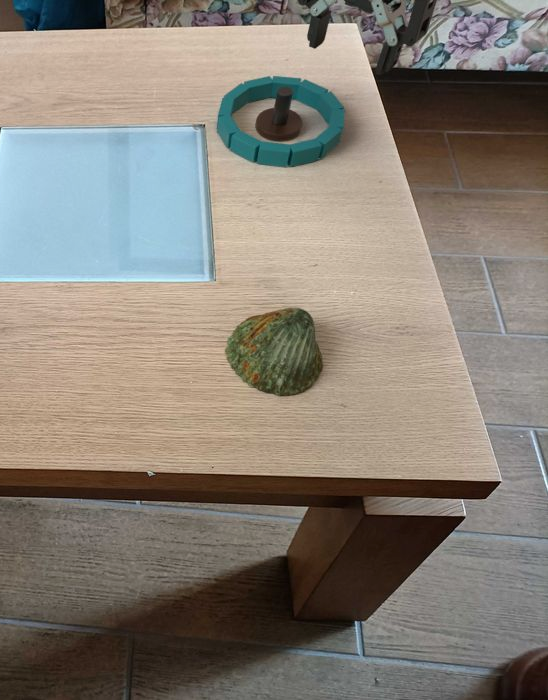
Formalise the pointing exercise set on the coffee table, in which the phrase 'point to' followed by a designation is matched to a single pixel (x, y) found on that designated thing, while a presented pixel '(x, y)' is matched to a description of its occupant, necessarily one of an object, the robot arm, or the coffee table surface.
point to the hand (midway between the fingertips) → (348, 58)
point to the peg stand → (279, 118)
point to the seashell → (276, 351)
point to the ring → (277, 151)
